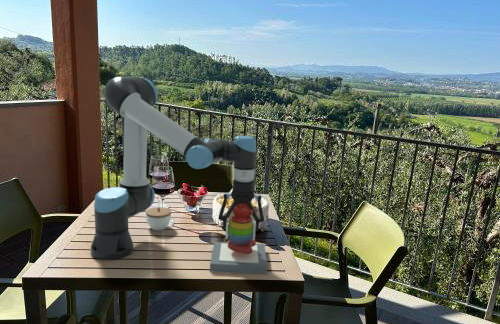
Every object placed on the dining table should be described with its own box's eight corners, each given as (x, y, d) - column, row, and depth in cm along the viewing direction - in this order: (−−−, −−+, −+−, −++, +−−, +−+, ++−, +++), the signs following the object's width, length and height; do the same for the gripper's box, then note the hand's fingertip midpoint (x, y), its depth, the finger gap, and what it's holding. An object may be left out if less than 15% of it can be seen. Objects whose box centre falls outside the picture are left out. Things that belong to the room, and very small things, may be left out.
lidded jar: (150, 222, 169) (150, 203, 167) (173, 224, 169) (173, 204, 167) (142, 231, 158) (142, 211, 156) (167, 233, 158) (167, 212, 156)
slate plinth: (209, 271, 129) (210, 262, 128) (213, 248, 147) (214, 240, 146) (266, 274, 130) (267, 265, 129) (263, 251, 147) (264, 243, 147)
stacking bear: (251, 255, 131) (254, 207, 127) (223, 251, 133) (225, 204, 129) (256, 242, 141) (259, 198, 137) (231, 239, 143) (233, 195, 139)
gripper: (211, 180, 128) (209, 240, 132) (275, 183, 128) (270, 243, 133) (213, 175, 135) (211, 232, 140) (273, 178, 136) (269, 235, 140)
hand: (240, 237), depth 136 cm, fingers closed on stacking bear, 9 cm apart
